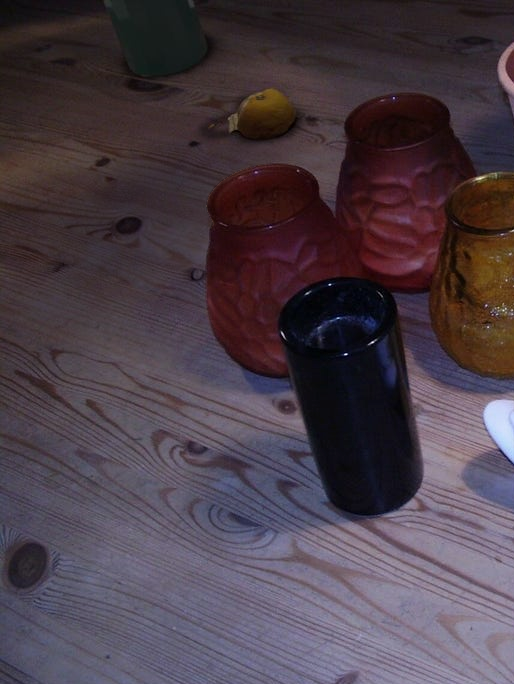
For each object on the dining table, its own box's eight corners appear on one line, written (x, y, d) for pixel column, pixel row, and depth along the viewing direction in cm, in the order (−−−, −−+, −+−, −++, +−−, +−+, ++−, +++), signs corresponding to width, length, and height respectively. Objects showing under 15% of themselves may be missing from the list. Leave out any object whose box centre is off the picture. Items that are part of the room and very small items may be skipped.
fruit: (259, 96, 104) (249, 64, 102) (318, 114, 100) (310, 82, 98) (202, 136, 100) (191, 104, 97) (262, 158, 96) (252, 125, 93)
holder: (122, 85, 109) (87, -3, 102) (139, 45, 115) (107, -40, 108) (201, 76, 108) (172, -13, 101) (214, 37, 115) (187, -49, 108)
